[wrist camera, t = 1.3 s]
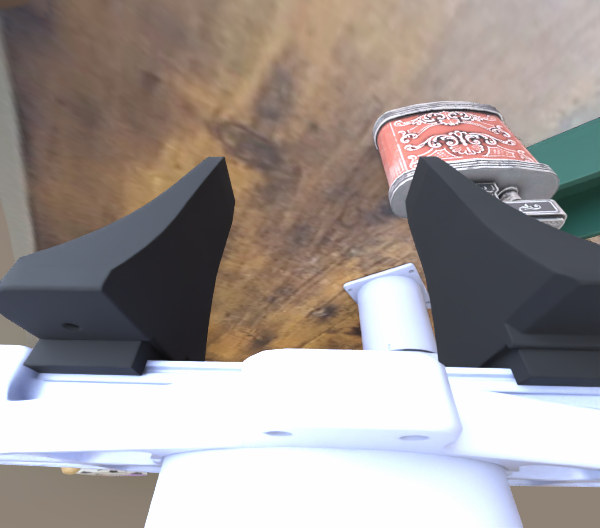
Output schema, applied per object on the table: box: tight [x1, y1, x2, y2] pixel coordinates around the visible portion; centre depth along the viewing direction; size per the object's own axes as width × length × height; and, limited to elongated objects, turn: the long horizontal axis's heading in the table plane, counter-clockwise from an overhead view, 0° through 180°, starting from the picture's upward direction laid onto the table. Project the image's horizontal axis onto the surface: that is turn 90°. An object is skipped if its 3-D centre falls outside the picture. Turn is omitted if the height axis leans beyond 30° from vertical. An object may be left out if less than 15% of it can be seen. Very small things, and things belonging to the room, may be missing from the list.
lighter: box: [373, 102, 567, 229], centre depth 16 cm, size 8×3×10 cm, turn 94°
